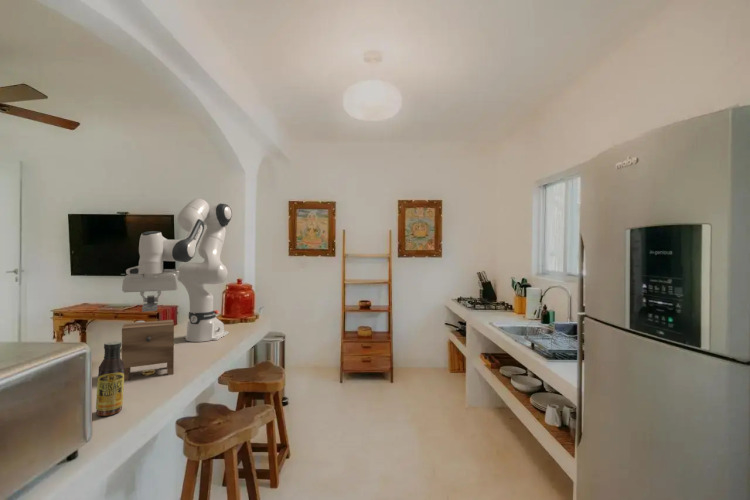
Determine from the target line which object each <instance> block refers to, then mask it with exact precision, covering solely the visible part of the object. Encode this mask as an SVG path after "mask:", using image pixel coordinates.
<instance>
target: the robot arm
mask: <svg viewBox="0 0 750 500" xmlns="http://www.w3.org/2000/svg"><path fill="white" fill-rule="evenodd" d="M232 218H233V212H232V209H231V207H230V205H228V204H226V203H208V202H207V201H206V200H204V199H203V198H194V199H192V200H191V201H189V202H188V203H187V204H186V205H185V206H184V207H183V208H182V209H181V211H179V213H178V215H177V223H178V225H179V226H180V228H181V229H182V230H184V231H185V232H188V233H187V235H186V237H185V238H181V239H168V238H166V237H164V236H163V234H162V232H161V231H158V230H157V231H156V230H155V231H154V230H151V231H145V232H142V233H141V235H140V237H139V241H138V242H139V243H138V244H139V245H138V254H139V260H138V265H135V266H132V267H129V268H127V269H126V270H125V273H126V275H125V276H124V277H123V281H122V285H121V290H122V292H123V293H140V296H141V298H142V299H143V301H142V302H143V303H147V297H145V293H146V292H156V293H157V296H156V297H155V296H154V303H158V302H159V298H160V296H161V295H162V292H165V291H167V292H168V291H169V292H170V291H171V292H172V291H177V290H178V287H179V285H178V282H179V283H181V284H182V285H183V286H184V288H185V289H186V291H187V294H188V299H189V311H188V321H187V326H186V334H185V335H184V338H185V341H187V342H192V343H199V342H202V343H203V342H208V341H217V340H220V339H222V338H223V336H224V337H225V336H227V335H228V333H229V334H230V332H229V331H227V330H225V326H224V325H225V324H224V322H223V321H222V320H220V319H218V318H217V317H216V315H218V314H219V313H220V312H219V310H218V309H217V310H216V309H214V295H213V293H211V292H210V291H208V290H207V289H206V288H205V286H204V285H217V284H223V283H225V281H226V280H227V279H228V274H229V272H228V269H227V267H226V265H225V264H224V263H223V262H222V259H221V256H222V255H221V254H222V252H223V251H222V250H223V247H224V244H225V240H226V233H227V232H226V231H227V229H226V227H227V226H228V225H229V223H230V221H231V220H232ZM205 226H206V230H205ZM204 230H205V231H204ZM200 240H201V241H200ZM198 244H199V246H198ZM197 247H198V248H197ZM197 250H198V251H197ZM196 251H197V252H198V255H199V257H201V258H202V259H203V261H202V262H190V261H192V259H193V258H194V257H195V254H196ZM164 262H179V263H180V262H181V264H179V265H178V266H177V268H176V269H175V268H171V269H170V268H164ZM182 262H183V263H182ZM221 337H222V338H221Z"/></svg>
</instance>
